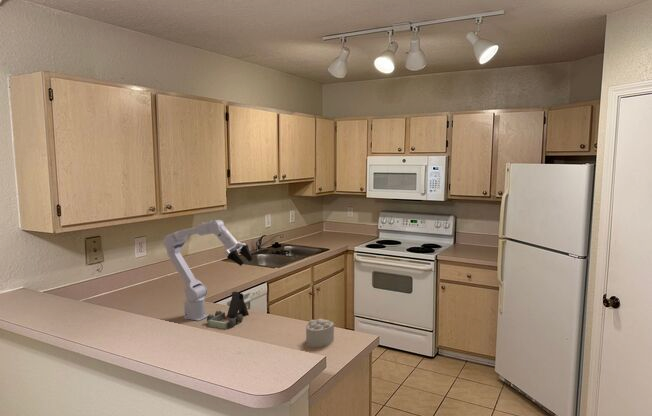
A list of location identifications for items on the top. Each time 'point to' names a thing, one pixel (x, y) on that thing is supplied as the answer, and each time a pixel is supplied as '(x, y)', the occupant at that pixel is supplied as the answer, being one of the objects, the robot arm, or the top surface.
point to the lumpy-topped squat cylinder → (319, 333)
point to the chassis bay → (216, 323)
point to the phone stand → (237, 306)
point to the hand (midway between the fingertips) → (246, 262)
